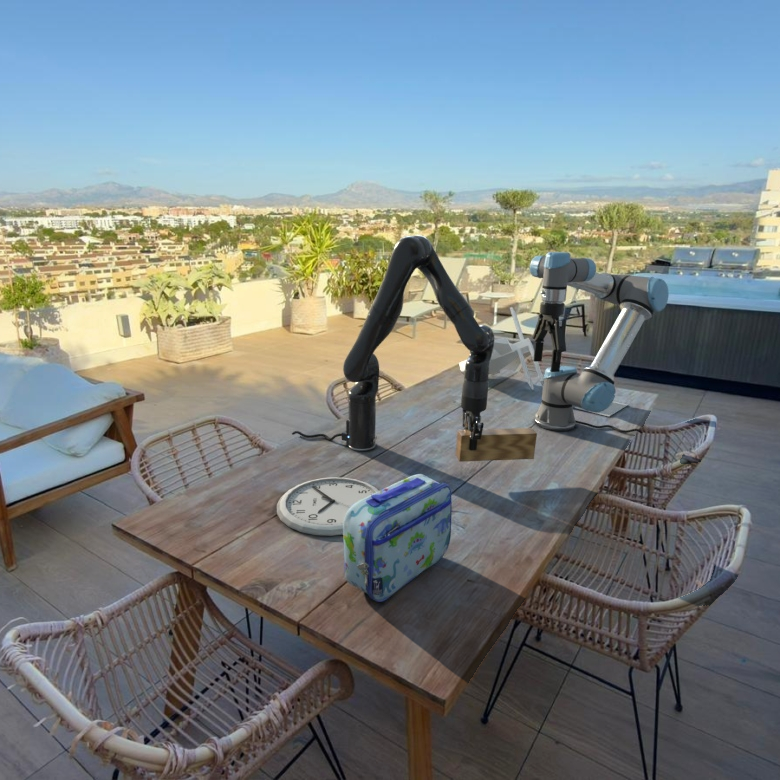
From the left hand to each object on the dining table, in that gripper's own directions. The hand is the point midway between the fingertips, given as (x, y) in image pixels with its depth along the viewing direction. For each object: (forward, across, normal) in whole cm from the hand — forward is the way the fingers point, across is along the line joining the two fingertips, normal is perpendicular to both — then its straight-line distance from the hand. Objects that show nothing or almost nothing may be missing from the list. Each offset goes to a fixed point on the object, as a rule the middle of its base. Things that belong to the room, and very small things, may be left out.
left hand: (470, 446), depth 160 cm
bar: (+4, 0, +8) cm, 9 cm away
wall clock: (+10, +14, -42) cm, 46 cm away
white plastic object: (+10, -94, +43) cm, 104 cm away
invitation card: (+9, -56, +76) cm, 95 cm away
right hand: (-20, -17, +29) cm, 40 cm away
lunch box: (+9, +46, -29) cm, 55 cm away
